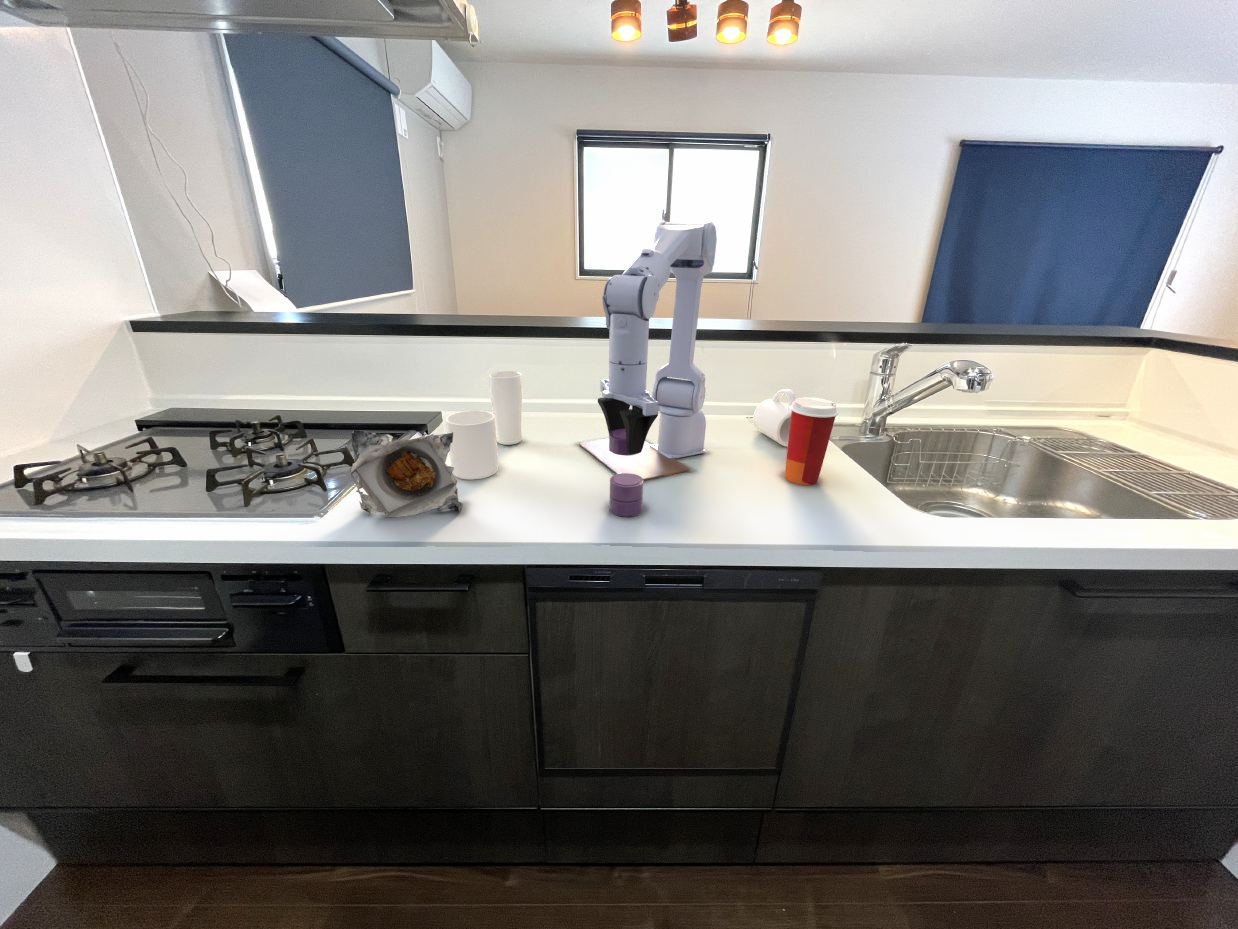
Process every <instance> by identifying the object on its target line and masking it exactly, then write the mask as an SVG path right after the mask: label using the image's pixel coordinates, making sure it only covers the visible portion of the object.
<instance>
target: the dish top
mask: <svg viewBox="0 0 1238 929" xmlns="http://www.w3.org/2000/svg"><path fill="white" fill-rule="evenodd" d="M608 438H609V451H610V452H612V453H614V454H617V455H624V456H629V455H636V454H639V453H635V454H629V453H628V450H627V441H626V430H625V428H623V429H615V430H612V431H611V432H610V433H609V432H608Z"/></svg>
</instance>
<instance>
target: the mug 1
mask: <svg viewBox="0 0 1238 929" xmlns="http://www.w3.org/2000/svg"><path fill="white" fill-rule="evenodd" d="M444 421H445V427H446V434H448V433H452V432H453V442H452V443H451V445H450V451H449V453H448V454H449V462H450V467H454V470H453V472H452V474H453V475H454V477H457V478H458V479H461V480H469V481H471V480H472V481H473V480H483V479H485V478H490V477H491V476H493V475H495V474H496V473H497V472H498V470H499V464H500V463H499V452H498V451H499V450H498V441H497V434H496V424H495V415H494V414H493V412H490V411H487V410H479V409H478V410H477V409H476V410H475V409H473V410H462V411H457V412H454V413H450V414H449V415H447V416H446V417H445V420H444Z"/></svg>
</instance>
